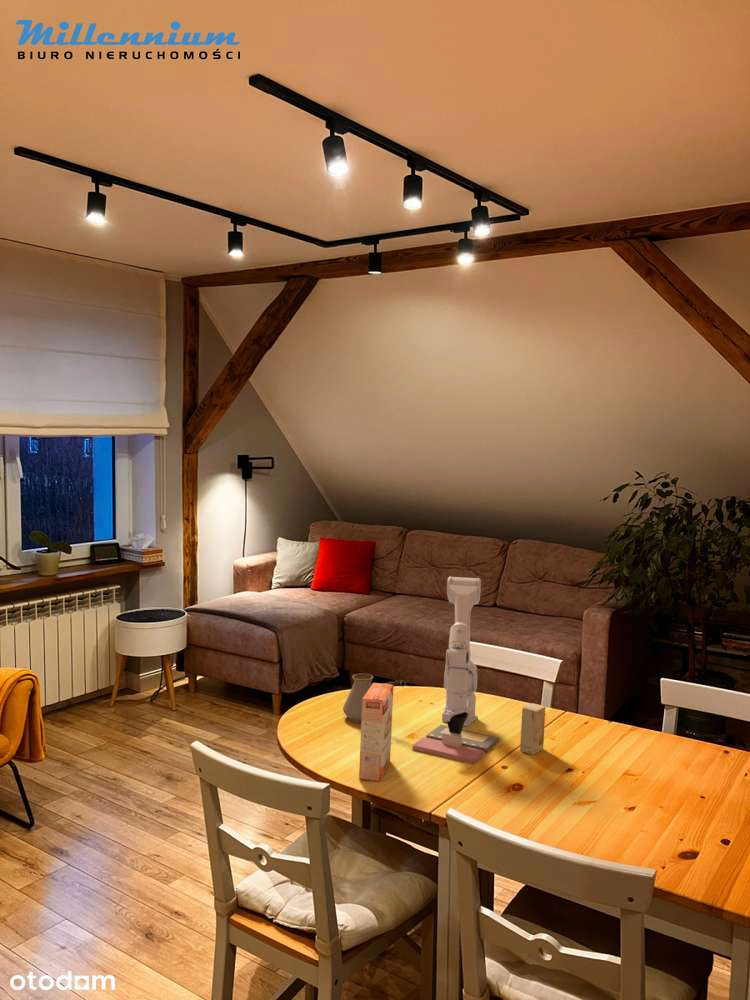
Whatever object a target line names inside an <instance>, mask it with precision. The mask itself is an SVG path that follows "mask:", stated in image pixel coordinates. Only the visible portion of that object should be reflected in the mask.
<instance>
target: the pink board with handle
mask: <svg viewBox="0 0 750 1000" xmlns="http://www.w3.org/2000/svg"><path fill="white" fill-rule="evenodd" d="M412 750H414V751H419V752H422V753H426V754H431V755H435V756H439V757H444V758H447V759H453V760H455V761H460V762H463V763H464V762H466V763H469V764H475V763H476V762H478V761H479V760H480V759H481V758H482V757H483V756H484V754H485V753H484V751H483V750H479V749H475V748H470V747H466V746H462V735H460V734H456V733H451V732H446V731H445V732H444V733H443V741H439V740H435V739H431V738H426V736H422V737H421V738H420V739H419V740H418V741H416V742H415V743H413V744H412Z"/></svg>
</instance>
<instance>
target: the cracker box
mask: <svg viewBox="0 0 750 1000" xmlns="http://www.w3.org/2000/svg"><path fill="white" fill-rule="evenodd" d="M394 689H395V688H394V685H391V684H384V683H380V682H379V683H378V682H373V683H371V687H370V688H369V690H368V691H367V693H366V694H365V696H364V697H363V699H362V717H361V722H360V725H361V726H360V745H359V746H360V748H359V766H358V767H359V768H358V769H359V772H358V779H359V780H363V779H364V780H363V781H371V782H381V781H382V778H383V776H384V774H385V772H386V770H387V767H388V766H389V764H390V761H391V751H392V750H391V748H392V732H393V731H392V726H393V708H394V707H393V704H394Z"/></svg>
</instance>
